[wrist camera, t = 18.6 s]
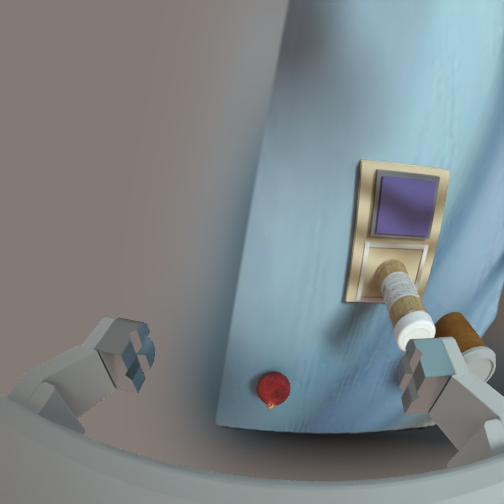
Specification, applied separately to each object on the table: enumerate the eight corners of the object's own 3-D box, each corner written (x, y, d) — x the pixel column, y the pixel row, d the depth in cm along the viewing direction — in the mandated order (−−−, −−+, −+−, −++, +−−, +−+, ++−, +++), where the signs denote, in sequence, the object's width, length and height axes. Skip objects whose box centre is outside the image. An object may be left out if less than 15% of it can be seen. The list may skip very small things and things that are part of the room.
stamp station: (360, 159, 35) (364, 163, 33) (446, 169, 33) (454, 173, 31) (345, 296, 44) (346, 306, 42) (418, 298, 43) (423, 307, 41)
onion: (274, 358, 52) (269, 394, 45) (298, 372, 53) (295, 408, 46) (253, 372, 55) (246, 407, 48) (277, 386, 56) (272, 420, 49)
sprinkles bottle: (400, 287, 41) (426, 354, 29) (371, 284, 41) (391, 353, 30) (409, 259, 39) (443, 323, 27) (380, 255, 39) (406, 320, 27)
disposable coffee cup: (419, 320, 45) (439, 375, 34) (468, 295, 41) (497, 344, 31) (430, 353, 48) (447, 405, 37) (474, 331, 44) (498, 379, 34)
